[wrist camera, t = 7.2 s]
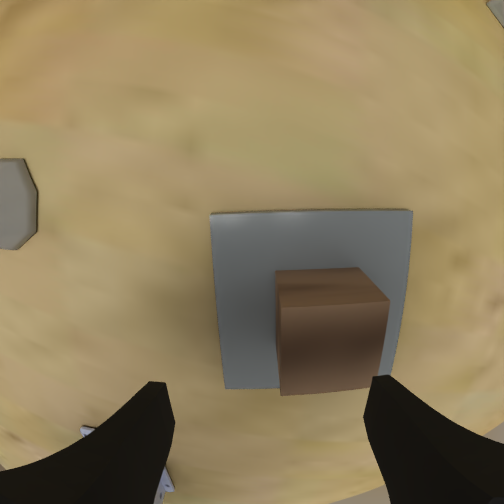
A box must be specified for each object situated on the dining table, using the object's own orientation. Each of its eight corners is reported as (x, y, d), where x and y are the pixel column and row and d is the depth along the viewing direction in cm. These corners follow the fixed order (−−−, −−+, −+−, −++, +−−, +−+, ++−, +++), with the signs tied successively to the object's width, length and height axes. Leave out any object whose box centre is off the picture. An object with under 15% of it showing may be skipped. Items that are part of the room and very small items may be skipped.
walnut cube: (351, 339, 19) (375, 386, 14) (275, 345, 19) (280, 395, 14) (358, 267, 18) (390, 300, 13) (275, 270, 18) (281, 307, 13)
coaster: (386, 370, 21) (390, 376, 20) (226, 382, 21) (225, 389, 20) (407, 209, 18) (412, 211, 17) (211, 212, 18) (209, 215, 17)
